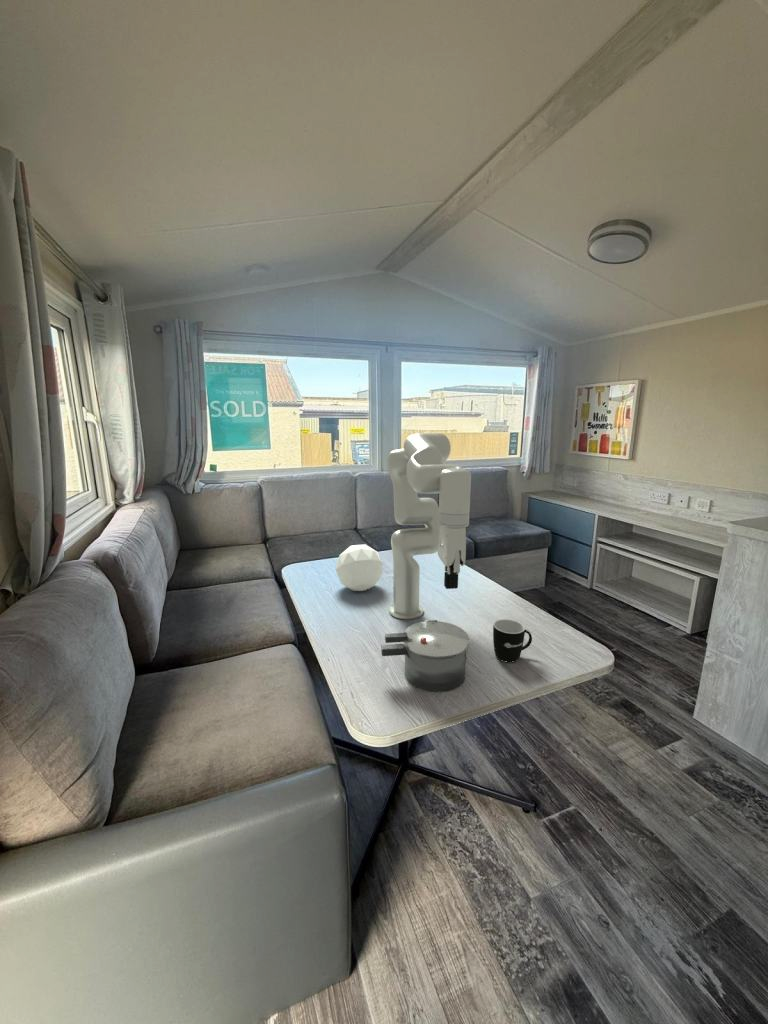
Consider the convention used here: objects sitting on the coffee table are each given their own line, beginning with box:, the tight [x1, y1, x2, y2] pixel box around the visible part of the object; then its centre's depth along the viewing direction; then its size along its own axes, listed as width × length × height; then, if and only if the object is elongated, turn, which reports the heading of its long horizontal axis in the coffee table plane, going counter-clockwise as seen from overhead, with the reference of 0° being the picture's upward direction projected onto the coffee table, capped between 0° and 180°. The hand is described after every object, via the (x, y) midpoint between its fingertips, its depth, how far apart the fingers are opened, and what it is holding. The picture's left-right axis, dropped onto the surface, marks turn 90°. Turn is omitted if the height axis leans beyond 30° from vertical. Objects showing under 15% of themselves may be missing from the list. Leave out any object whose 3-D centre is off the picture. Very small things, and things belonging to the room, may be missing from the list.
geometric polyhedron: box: [335, 543, 383, 592], centre depth 176 cm, size 19×20×20 cm
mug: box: [492, 618, 533, 663], centre depth 126 cm, size 12×9×10 cm
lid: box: [384, 619, 470, 658], centre depth 117 cm, size 19×23×2 cm
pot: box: [380, 643, 468, 693], centre depth 118 cm, size 17×24×10 cm
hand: (450, 587), depth 109 cm, fingers closed
